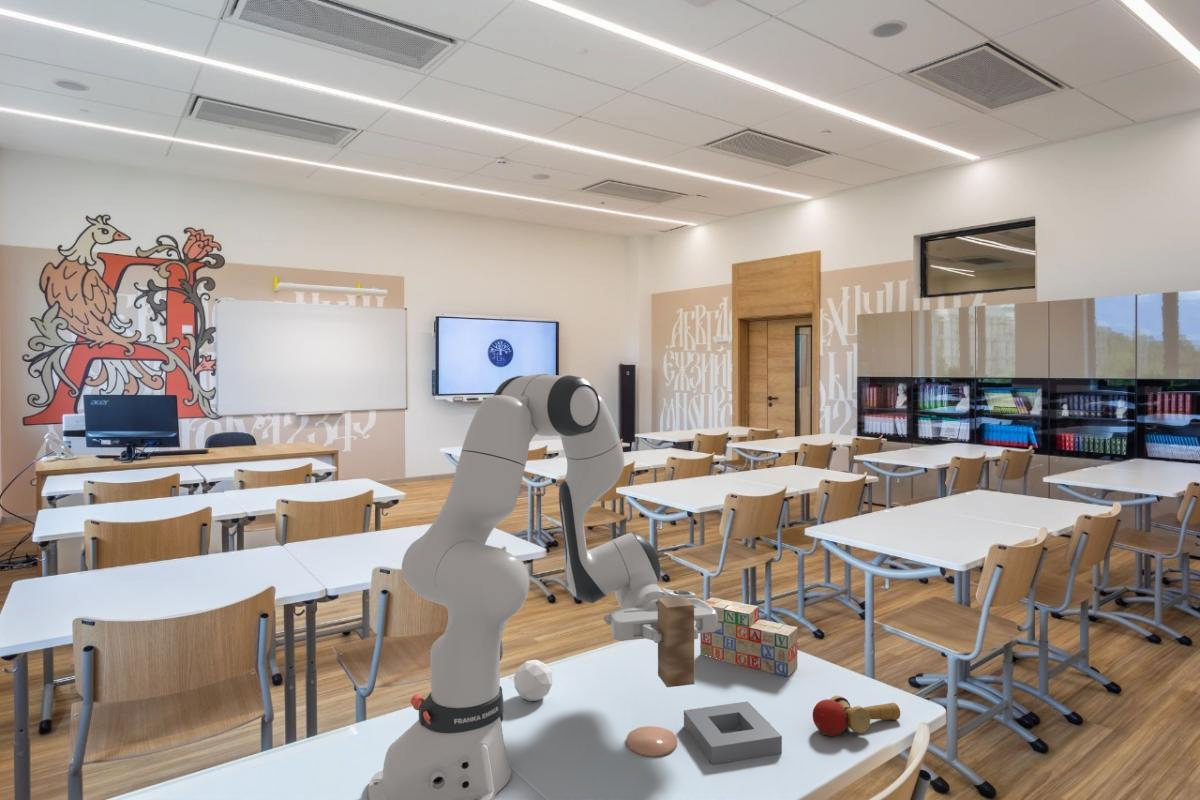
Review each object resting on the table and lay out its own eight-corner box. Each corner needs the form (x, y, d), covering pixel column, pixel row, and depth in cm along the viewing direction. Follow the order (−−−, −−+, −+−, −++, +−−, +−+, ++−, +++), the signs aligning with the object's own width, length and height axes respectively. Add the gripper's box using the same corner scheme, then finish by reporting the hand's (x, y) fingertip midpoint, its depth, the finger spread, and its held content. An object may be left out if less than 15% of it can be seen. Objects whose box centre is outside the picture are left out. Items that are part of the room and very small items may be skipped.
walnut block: (667, 687, 118) (666, 607, 117) (657, 675, 123) (657, 598, 122) (694, 684, 119) (694, 605, 119) (684, 672, 124) (683, 596, 123)
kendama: (875, 714, 133) (799, 718, 127) (883, 685, 132) (807, 688, 126) (904, 740, 126) (825, 746, 120) (913, 710, 125) (834, 714, 119)
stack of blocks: (798, 668, 152) (798, 613, 151) (788, 678, 147) (788, 622, 146) (711, 646, 164) (711, 596, 164) (699, 655, 159) (699, 603, 159)
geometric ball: (532, 716, 137) (518, 695, 132) (516, 688, 143) (502, 667, 138) (564, 692, 139) (551, 671, 134) (546, 666, 145) (533, 644, 141)
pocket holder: (711, 764, 114) (711, 747, 114) (683, 726, 127) (683, 710, 127) (781, 753, 118) (781, 736, 118) (747, 716, 130) (747, 701, 130)
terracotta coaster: (643, 762, 115) (643, 758, 115) (617, 737, 123) (617, 734, 123) (687, 747, 120) (687, 744, 120) (659, 724, 128) (659, 721, 128)
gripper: (601, 599, 131) (620, 624, 117) (700, 591, 135) (730, 614, 122) (601, 631, 131) (620, 660, 117) (700, 622, 136) (730, 648, 122)
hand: (677, 636), depth 120 cm, fingers closed on walnut block, 5 cm apart
